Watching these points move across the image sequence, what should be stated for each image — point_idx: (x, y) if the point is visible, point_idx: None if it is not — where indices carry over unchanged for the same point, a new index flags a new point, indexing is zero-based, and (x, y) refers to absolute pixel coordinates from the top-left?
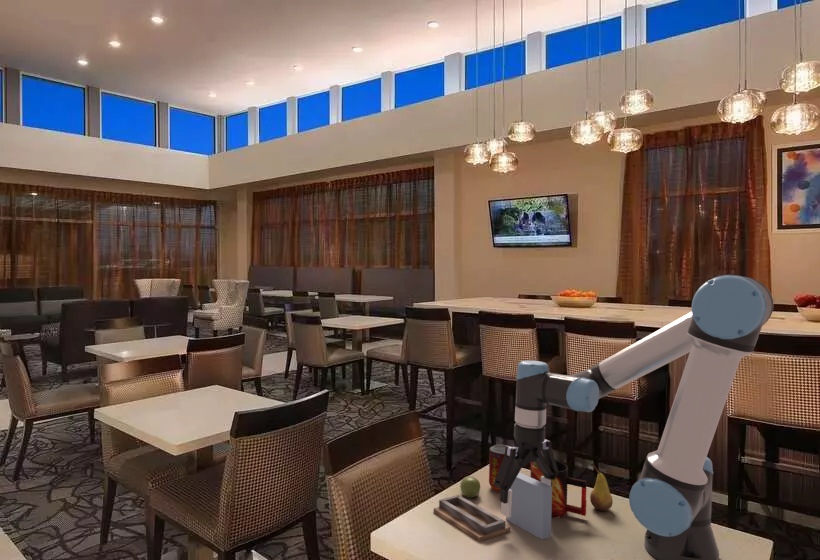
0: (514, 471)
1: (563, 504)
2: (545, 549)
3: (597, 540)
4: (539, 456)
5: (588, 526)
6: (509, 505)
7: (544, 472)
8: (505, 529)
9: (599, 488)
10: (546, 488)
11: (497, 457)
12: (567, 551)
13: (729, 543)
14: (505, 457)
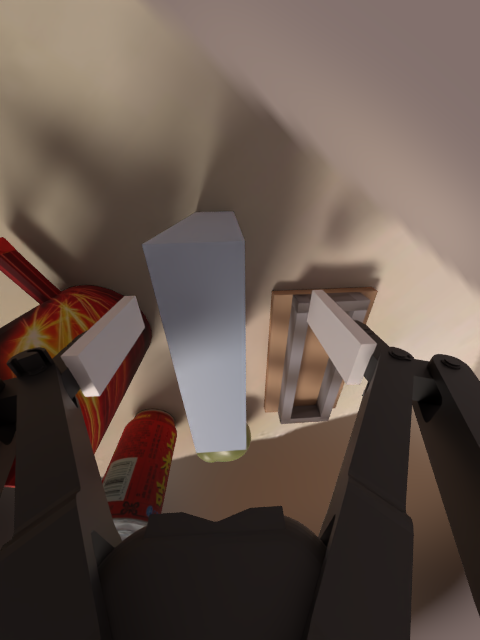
0: (407, 444)
1: (55, 300)
2: (272, 153)
3: (40, 77)
4: (71, 620)
5: (23, 193)
6: (340, 308)
7: (74, 406)
8: (290, 293)
9: None
10: (211, 241)
11: (152, 507)
12: (216, 86)
13: None
14: None
